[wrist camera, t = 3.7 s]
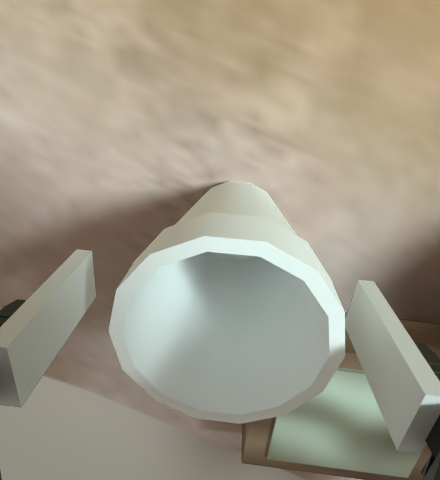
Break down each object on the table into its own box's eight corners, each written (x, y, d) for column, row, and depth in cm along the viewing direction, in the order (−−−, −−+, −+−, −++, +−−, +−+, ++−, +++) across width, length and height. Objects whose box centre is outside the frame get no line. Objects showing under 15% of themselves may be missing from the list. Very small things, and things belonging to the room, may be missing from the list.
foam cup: (310, 165, 23) (376, 251, 11) (289, 280, 27) (321, 433, 15) (173, 154, 23) (97, 226, 12) (172, 268, 27) (115, 409, 15)
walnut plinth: (262, 302, 28) (265, 345, 23) (456, 326, 27) (497, 374, 23) (242, 415, 34) (241, 466, 29) (401, 436, 33) (425, 491, 29)
